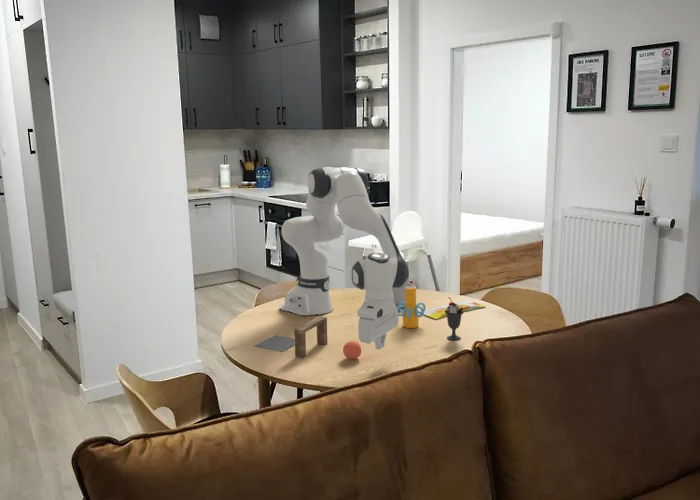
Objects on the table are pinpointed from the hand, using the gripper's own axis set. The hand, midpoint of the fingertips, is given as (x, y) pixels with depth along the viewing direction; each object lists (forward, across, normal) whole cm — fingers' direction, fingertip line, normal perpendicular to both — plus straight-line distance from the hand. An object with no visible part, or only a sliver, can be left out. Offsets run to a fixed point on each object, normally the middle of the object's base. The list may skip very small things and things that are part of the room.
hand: (380, 347), depth 196 cm
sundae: (+6, -33, +12) cm, 36 cm away
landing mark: (+5, 0, -40) cm, 41 cm away
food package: (+6, -63, 0) cm, 64 cm away
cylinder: (+6, -38, -7) cm, 39 cm away
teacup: (+5, -63, -23) cm, 68 cm away
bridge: (+6, 0, -26) cm, 27 cm away
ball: (+3, 0, -10) cm, 11 cm away
